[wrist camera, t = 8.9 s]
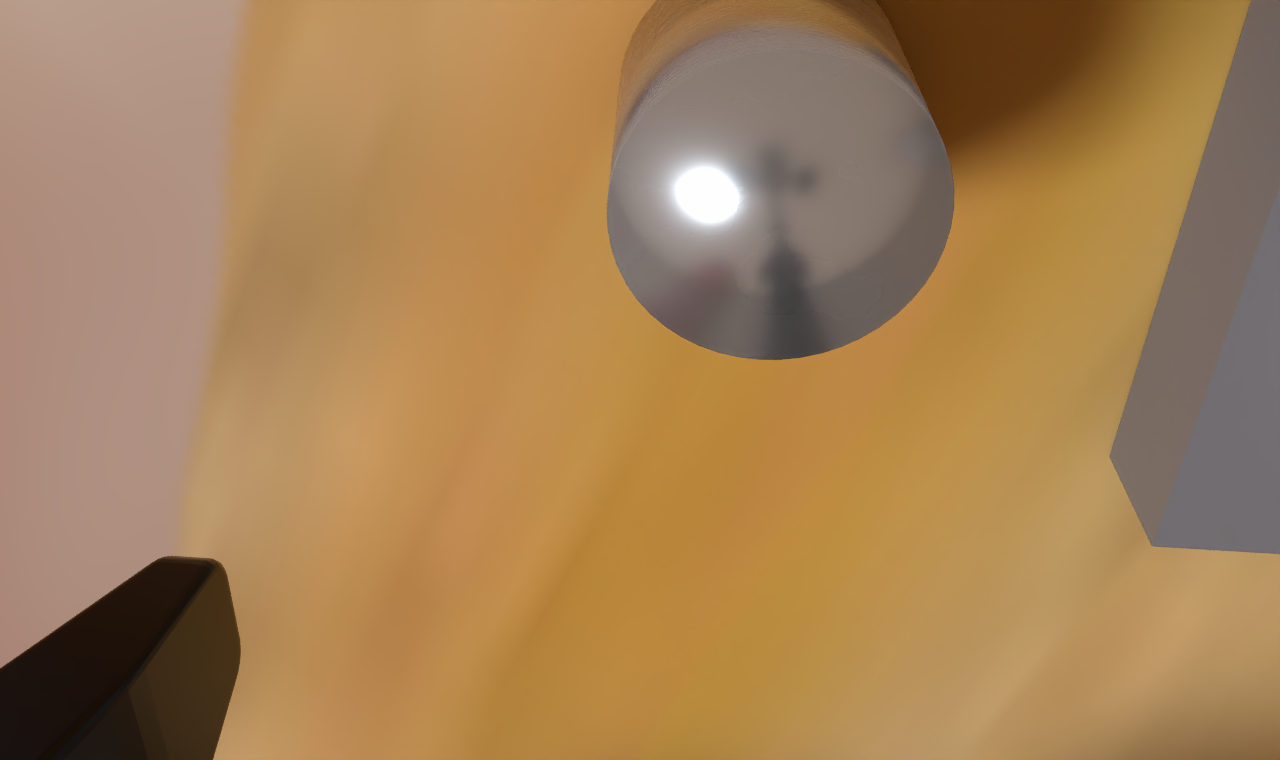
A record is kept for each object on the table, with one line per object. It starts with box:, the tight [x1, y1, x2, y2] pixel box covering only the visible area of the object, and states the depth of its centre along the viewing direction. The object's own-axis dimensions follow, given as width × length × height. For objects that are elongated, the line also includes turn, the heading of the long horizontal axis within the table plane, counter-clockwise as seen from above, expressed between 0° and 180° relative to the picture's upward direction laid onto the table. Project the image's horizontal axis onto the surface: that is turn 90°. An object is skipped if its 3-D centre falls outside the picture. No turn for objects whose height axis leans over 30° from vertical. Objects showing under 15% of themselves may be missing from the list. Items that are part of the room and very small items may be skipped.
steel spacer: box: [607, 0, 954, 360], centre depth 17 cm, size 4×4×4 cm
